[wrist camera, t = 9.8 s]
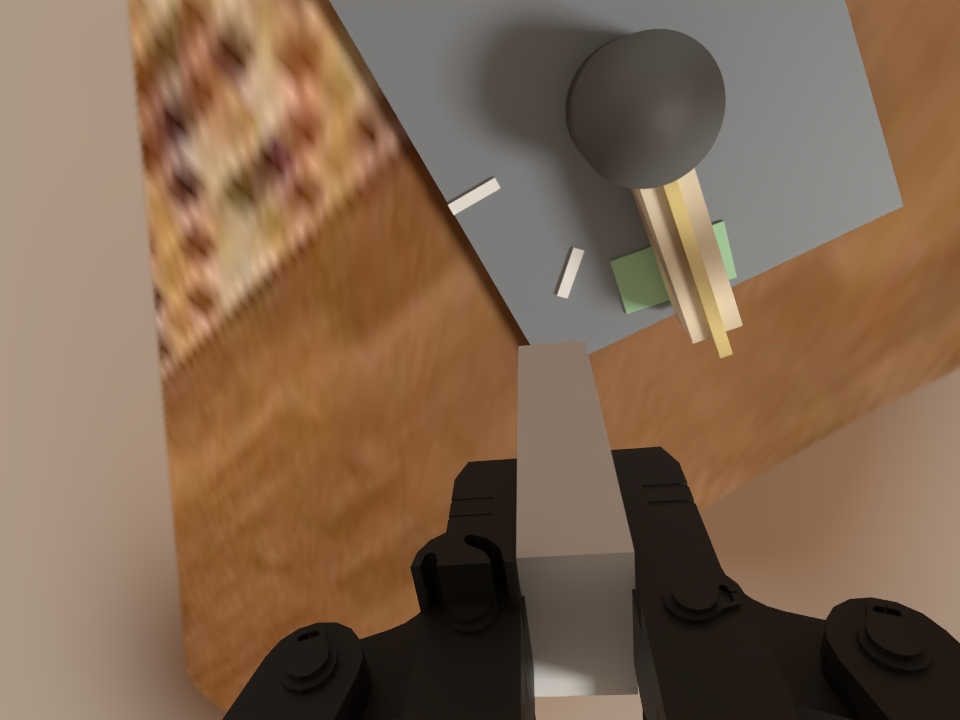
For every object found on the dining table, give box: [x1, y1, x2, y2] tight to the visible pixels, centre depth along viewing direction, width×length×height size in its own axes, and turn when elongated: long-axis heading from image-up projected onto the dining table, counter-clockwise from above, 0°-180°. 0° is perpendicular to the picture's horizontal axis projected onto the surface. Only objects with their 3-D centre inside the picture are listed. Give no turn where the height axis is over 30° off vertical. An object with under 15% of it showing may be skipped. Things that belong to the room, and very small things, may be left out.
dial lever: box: [566, 29, 743, 358], centre depth 28 cm, size 15×6×5 cm, turn 25°
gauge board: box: [329, 0, 903, 355], centre depth 29 cm, size 20×22×1 cm
